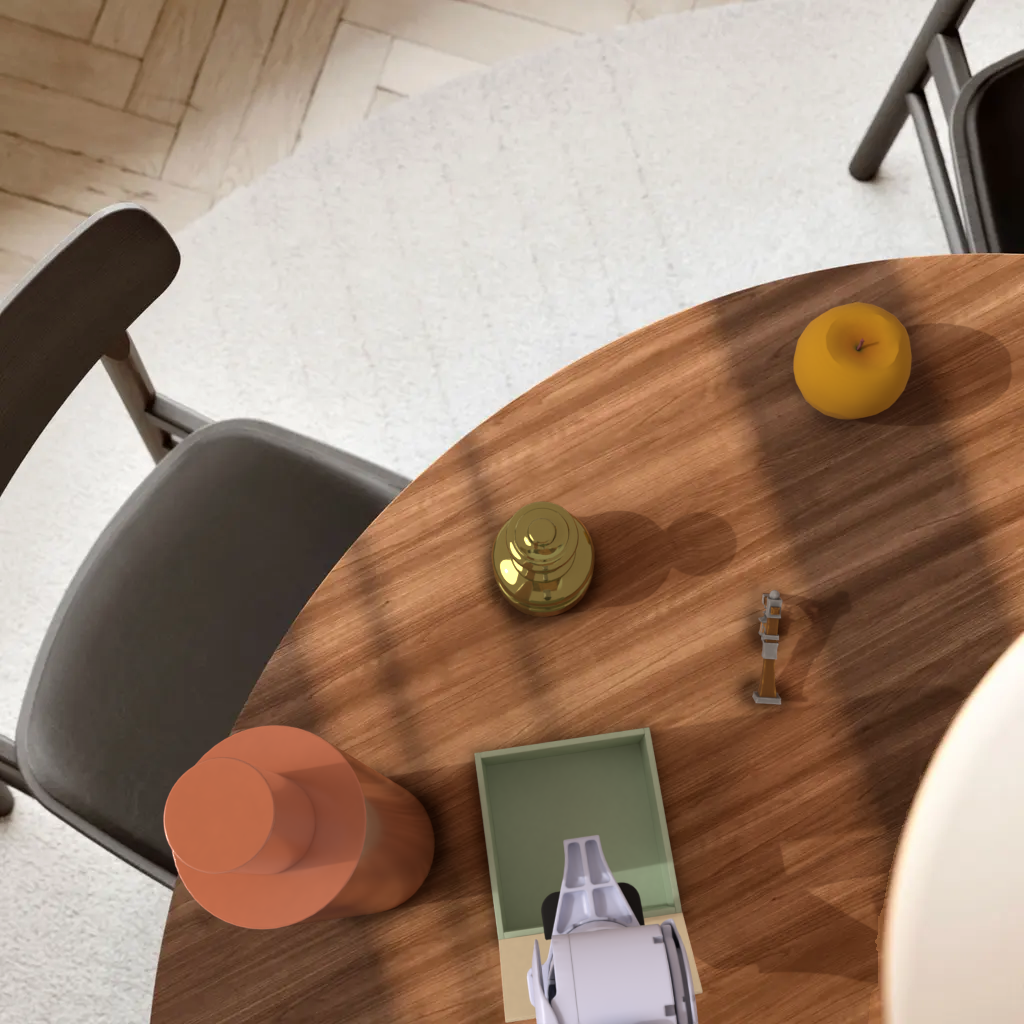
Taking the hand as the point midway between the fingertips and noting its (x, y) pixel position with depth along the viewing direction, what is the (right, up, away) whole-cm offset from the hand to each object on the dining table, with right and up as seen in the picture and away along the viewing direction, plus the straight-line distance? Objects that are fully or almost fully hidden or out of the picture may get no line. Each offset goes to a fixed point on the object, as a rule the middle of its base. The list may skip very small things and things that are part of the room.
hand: (597, 966), depth 70 cm
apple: (+20, +37, +20) cm, 47 cm away
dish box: (-1, +5, +11) cm, 12 cm away
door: (0, 0, 0) cm, 0 cm away
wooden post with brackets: (+13, +17, +14) cm, 26 cm away
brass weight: (-3, +23, +17) cm, 29 cm away
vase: (-15, +4, +11) cm, 19 cm away
